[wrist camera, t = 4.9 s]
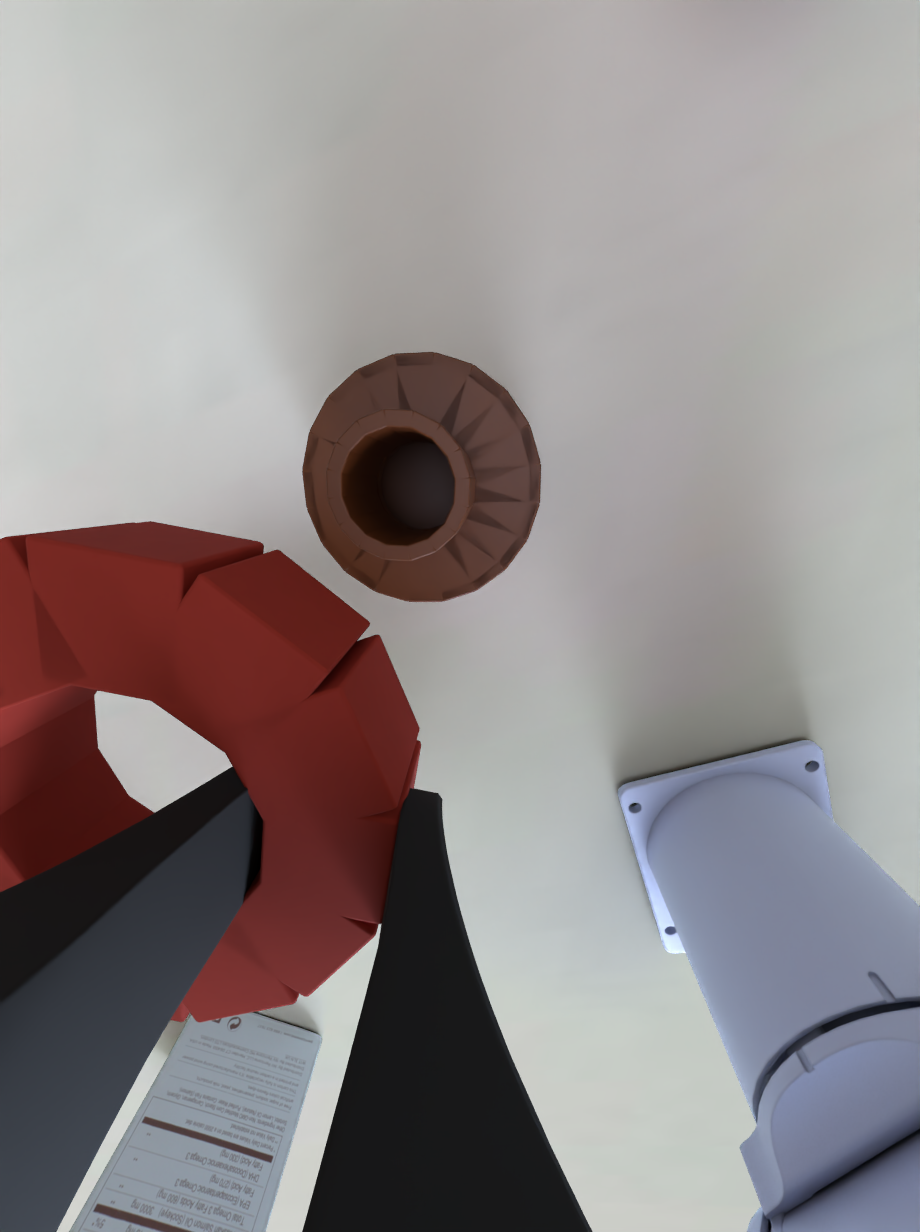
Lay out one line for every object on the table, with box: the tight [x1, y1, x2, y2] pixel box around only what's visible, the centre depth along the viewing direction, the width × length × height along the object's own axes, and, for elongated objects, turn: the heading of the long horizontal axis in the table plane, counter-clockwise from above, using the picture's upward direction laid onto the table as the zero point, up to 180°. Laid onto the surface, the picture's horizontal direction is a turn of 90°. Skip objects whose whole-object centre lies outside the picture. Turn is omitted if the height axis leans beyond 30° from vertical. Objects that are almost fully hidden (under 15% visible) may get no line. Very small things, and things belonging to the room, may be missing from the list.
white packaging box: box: [69, 1012, 322, 1232], centre depth 20 cm, size 7×7×13 cm
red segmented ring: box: [0, 521, 421, 1023], centre depth 9 cm, size 10×10×3 cm
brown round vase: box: [302, 352, 541, 602], centre depth 13 cm, size 7×7×7 cm
